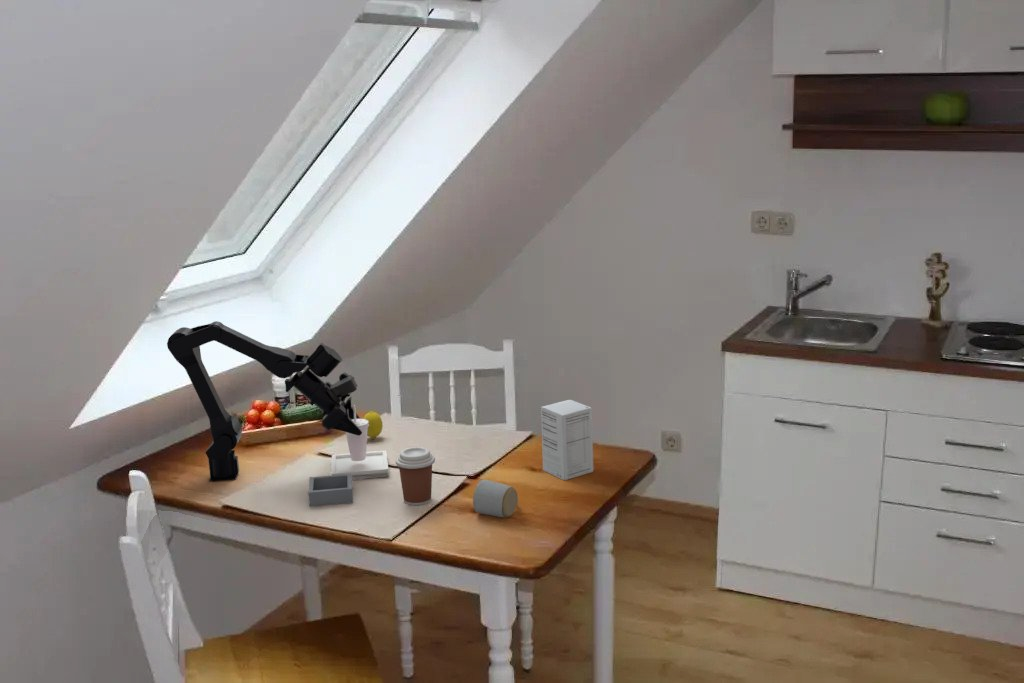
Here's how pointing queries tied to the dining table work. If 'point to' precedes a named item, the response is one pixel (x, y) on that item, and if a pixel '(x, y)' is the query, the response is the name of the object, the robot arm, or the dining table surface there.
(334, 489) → the holder
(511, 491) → the grey cylinder
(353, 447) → the smoothie
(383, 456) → the tray
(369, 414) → the lemon
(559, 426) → the supplement box
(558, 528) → the dining table surface
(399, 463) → the coffee cup
